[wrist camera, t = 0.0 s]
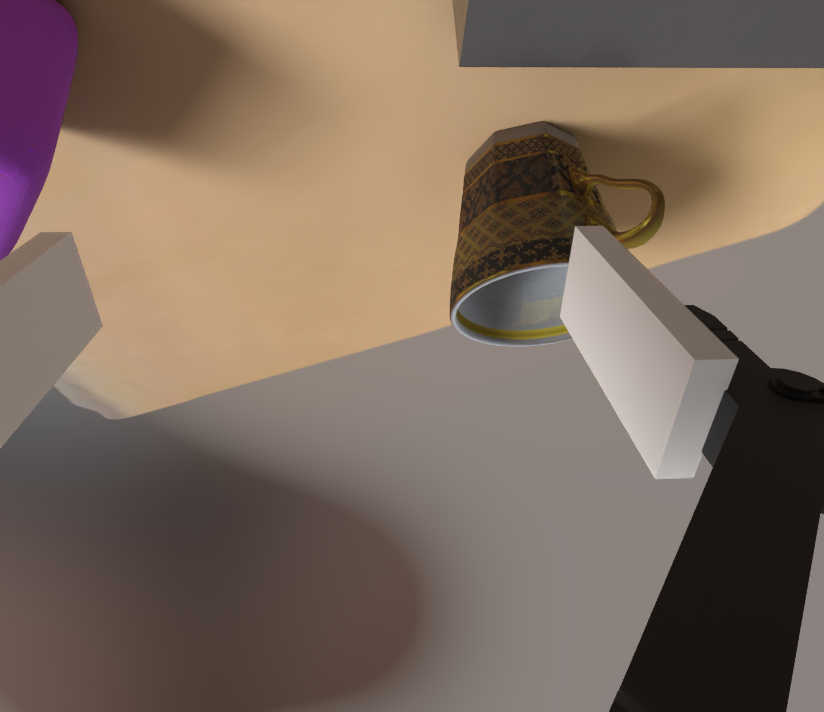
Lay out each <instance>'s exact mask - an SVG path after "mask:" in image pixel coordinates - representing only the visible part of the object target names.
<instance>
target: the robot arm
mask: <svg viewBox="0 0 824 712" xmlns="http://www.w3.org/2000/svg"><path fill="white" fill-rule="evenodd" d="M560 318H561V320H562V321H563V323H564V325H565V326H566V328H567V330H568V332H569V333H570V335H571V337H572V338H573V340H574V342H575V343H576V345H577V347H578V348H579V350H580V352H581V353H582V355H583V357H584V358H585V360H586V362H587V364H588V365H589V367H590V369H591V371H592V372H593V374H594V376H595V377H596V379H597V381H598V383H599V384H600V386H601V388H602V389H603V391H604V393H605V394H606V396H607V398H608V400H609V401H610V403H611V405H612V406H613V408H614V410H615V411H616V413H617V415H618V417H619V418H620V420H621V422H622V423H623V425H624V427H625V428H626V430H627V432H628V433H629V435H630V437H631V439H632V440H633V442H634V443H635V445H636V447H637V449H638V451H639V452H640V454H641V456H642V457H643V459H644V460H645V462H646V464H647V466H648V467H649V469H650V471H651V473H652V474H653V476H654V478H655V479H669V478H694V475H695V473H696V470H697V467H698V465H699V462H700V460H701V457H702V454H704V456H705V457H706V458H707V460H708V461H709V463H710V464H711V465H712V467H713V469H712V471H711V474H710V476H709V478H708V481H707V483H706V485H705V488H704V490H703V493H702V495H701V497H700V500H699V502H698V505H697V507H696V509H695V511H694V514H693V516H692V519H691V521H690V524H689V526H688V528H687V531H686V533H685V535H684V538H683V540H682V542H681V545H680V547H679V549H678V552H677V554H676V556H675V559H674V561H673V564H672V566H671V568H670V571H669V573H668V575H667V578H666V580H665V583H664V585H663V587H662V590H661V592H660V594H659V597H658V599H657V601H656V604H655V606H654V608H653V611H652V613H651V616H650V618H649V620H648V623H647V625H646V627H645V630H644V632H643V635H642V637H641V640H640V642H639V644H638V646H637V649H636V651H635V653H634V656H633V658H632V661H631V663H630V665H629V668H628V670H627V672H626V675H625V677H624V679H623V682H622V684H621V686H620V689H619V691H618V692H617V695H616V697H615V699H614V701H613V704H612V706H611V708H610V711H609V712H786V709H787V704H788V697H789V692H790V686H791V680H792V675H793V669H794V663H795V657H796V651H797V646H798V640H799V634H800V628H801V622H802V617H803V611H804V605H805V599H806V593H807V588H808V582H809V576H810V570H811V564H812V559H813V553H814V547H815V541H816V535H817V530H818V524H819V518H820V513H822V514H824V383H822V382H820V381H819V380H817V379H815V378H813V377H810V376H808V375H805V374H803V373H800V372H796V371H791V370H787V369H777V368H770V367H769V366H767V364H766V363H764V362H763V361H762V360H761V359H760V358H759V357H758V356H757V355H756V354H755V353H754V352H752V350H750V349H749V348H748V347H747V346H746V345H745V344H744V343H743V342H742V341H738V338H737V337H736V336H735V335H734V334H733V333H732V332H731V331H727V327H725V326H724V325H723V324H722V323H721V322H720V321H719V320H718V319H717V318H716V317H715V316H713V315H712V314H710V313H708V312H706V311H704V310H701V309H700V308H698V307H696V306H694V305H683V304H682V303H681V302H680V301H679V300H678V299H677V298H676V297H675V296H674V295H673V294H672V293H671V292H670V291H669V290H668V289H667V288H666V287H665V286H664V285H663V284H662V283H661V282H660V281H659V280H658V279H657V278H656V277H655V276H654V275H653V274H652V273H651V272H650V271H649V270H648V269H647V268H646V267H645V266H644V265H643V264H642V263H641V262H640V261H639V260H638V259H637V258H636V257H634V256H633V255H632V254H631V253H630V252H629V251H628V250H627V249H626V248H625V247H624V246H623V245H622V244H621V243H620V242H619V241H618V240H617V239H616V238H615V237H614V236H613V235H612V234H611V233H610V232H609V231H608V230H607V229H606V228H605V227H604V226H575V230H574V236H573V242H572V248H571V254H570V259H569V265H568V271H567V277H566V283H565V289H564V295H563V301H562V307H561V312H560ZM102 326H103V325H102V322H101V319H100V316H99V313H98V310H97V307H96V304H95V301H94V298H93V295H92V292H91V289H90V286H89V283H88V280H87V277H86V274H85V271H84V268H83V265H82V262H81V259H80V256H79V253H78V250H77V247H76V244H75V241H74V238H73V235H72V232H41V233H39V234H38V235H36V236H35V237H33V238H32V239H31V240H29V241H28V242H26V243H25V244H23V245H22V246H20V247H19V248H18V249H16V250H15V251H13V252H12V253H10V254H9V255H7V256H6V257H5V258H3V259H2V260H0V448H1V447H2V446H3V444H4V443H5V442H6V441H7V439H9V437H10V436H11V435H12V434H13V433H14V431H15V430H16V429H17V428H18V427H19V425H20V424H21V423H22V422H23V421H24V419H25V418H26V417H27V416H28V415H29V414H30V412H31V411H32V410H33V409H34V408H35V406H36V405H37V404H38V403H39V402H40V400H41V399H42V398H43V397H44V396H45V394H46V393H47V392H48V391H49V390H50V388H51V387H52V386H53V385H54V384H55V382H56V381H57V380H58V379H59V378H60V376H61V375H62V374H63V373H64V372H65V371H66V369H67V368H68V367H69V366H70V365H71V363H72V362H73V361H74V360H75V359H76V357H77V356H78V355H79V354H80V353H81V351H82V350H83V349H84V348H85V347H86V345H87V344H88V343H89V342H90V341H91V339H92V338H93V337H94V336H95V335H96V334H97V332H98V331H99V330H100V329H101V328H102Z"/></svg>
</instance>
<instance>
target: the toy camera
mask: <svg viewBox="0 0 824 712" xmlns="http://www.w3.org/2000/svg"><path fill="white" fill-rule="evenodd" d="M77 52H78V34H77V27H76V24H75V21H74V19H73V17H72V16H71V14H70V13H69V12H68V11H67V10H66V9H65V8H64V7H63V6H62V5H61V4H59V3H58V2H57V1H55V0H0V260H2V259H3V258H5V257H6V256H7V255H8V254H9V253H10V252H11V251H12V249H13V248H14V246H15V245H16V243H17V241H18V239H19V237H20V235H21V233H22V231H23V229H24V227H25V225H26V222H27V220H28V218H29V216H30V214H31V212H32V210H33V208H34V205H35V203H36V201H37V199H38V197H39V195H40V193H41V191H42V188H43V186H44V183H45V181H46V178H47V176H48V173H49V170H50V167H51V163H52V159H53V156H54V152H55V149H56V144H57V140H58V136H59V132H60V128H61V124H62V120H63V116H64V112H65V107H66V103H67V99H68V95H69V91H70V87H71V83H72V79H73V74H74V69H75V64H76V59H77Z"/></svg>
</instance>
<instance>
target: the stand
mask: <svg viewBox="0 0 824 712" xmlns="http://www.w3.org/2000/svg"><path fill="white" fill-rule="evenodd" d="M453 9H454V19H455V29H456V39H457V49H458V59H459V67H662V68H824V0H453Z"/></svg>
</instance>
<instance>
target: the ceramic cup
mask: <svg viewBox="0 0 824 712" xmlns="http://www.w3.org/2000/svg"><path fill="white" fill-rule="evenodd" d="M596 184H604V185H606V186H609V187H612V188H620V189H643V190H647V191H648V192H649V193H650V194H651V197H652V206H651V210H650V212H649V214H648V215H647V217H646V218H645V220H644V221H643V222H642V223H640V224H639V225H638V226H637V227H635V228H633V229H631V230H629V231H626V232H617V230H616V228H615V226H614V223H613V221H612V219H611V217H610V215H609V214H608V212H607V210H606V208H605V206H604V203H603V201H602V199H601V196H600V194H599V192H598V190H597V188H596ZM664 209H665V200H664V196H663V194H662V192H661V190H660V189H659V188H658V187H657V186H656V185H654V184H653V183H651V182H648V181H646V180H638V179H612V178H609V177H607V176H604V175H591V174H590V172H589V170H588V168H587V165H586V163H585V160H584V158H583V155H582V153H581V151H580V148H579V145H578V143H577V140H576V139H575V138H574V136H573V135H571V134H569V133H567V132H565V131H563V130H560V129H558V128H556V127H554V126H552V125H550V124H548V123H545V122H536V123H532V124H527V125H523V126H518V127H514V128H509V129H505V130H500V131H497V132H495V133H493V134H492V135H491V136H490V137H489V138H488V139H487V140H486V142H485V143H484V144H483V145H482V146H481V147H480V148H479V149H478V150H477V151H476V152H475V153H474V154H473V155H472V157H471V158H470V159H469V160H468V162H467V163H466V168H465V176H464V186H463V196H462V205H461V213H460V222H459V235H458V242H457V247H456V252H455V257H454V265H453V274H452V283H451V296H450V321H451V323H452V325H453V327H454V328H455V329H456V330H457V331H458V332H460V333H461V334H462V335H464V336H466V337H468V338H470V339H473V340H475V341H478V342H482V343H487V344H492V345H500V346H535V345H545V344H553V343H558V342H563V341H567V340H571V339H573V338H572V337H571V335H570V333H569V332H568V330H567V328H566V326H565V325H564V323H563V321H562V320H561V318H560V312H561V307H562V301H563V295H564V289H565V283H566V277H567V271H568V265H569V259H570V254H571V248H572V242H573V236H574V230H575V226H604V227H605V228H606V229H607V230H608V231H609V232H610V233H611V234H612V235H613V236H614V237H615V238H616V239H617V240H618V241H619V242H620V243H621V244H622V245H623V246H624V247H625V248H626V249H630V248H635V247H638V246H641V245H643V244H644V243H646V242H647V241H648V240H649V239H651V238H652V237H653V236H654V235H655V233H656V232H657V231H658V229H659V228H660V226H661V223H662V220H663V216H664Z"/></svg>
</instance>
